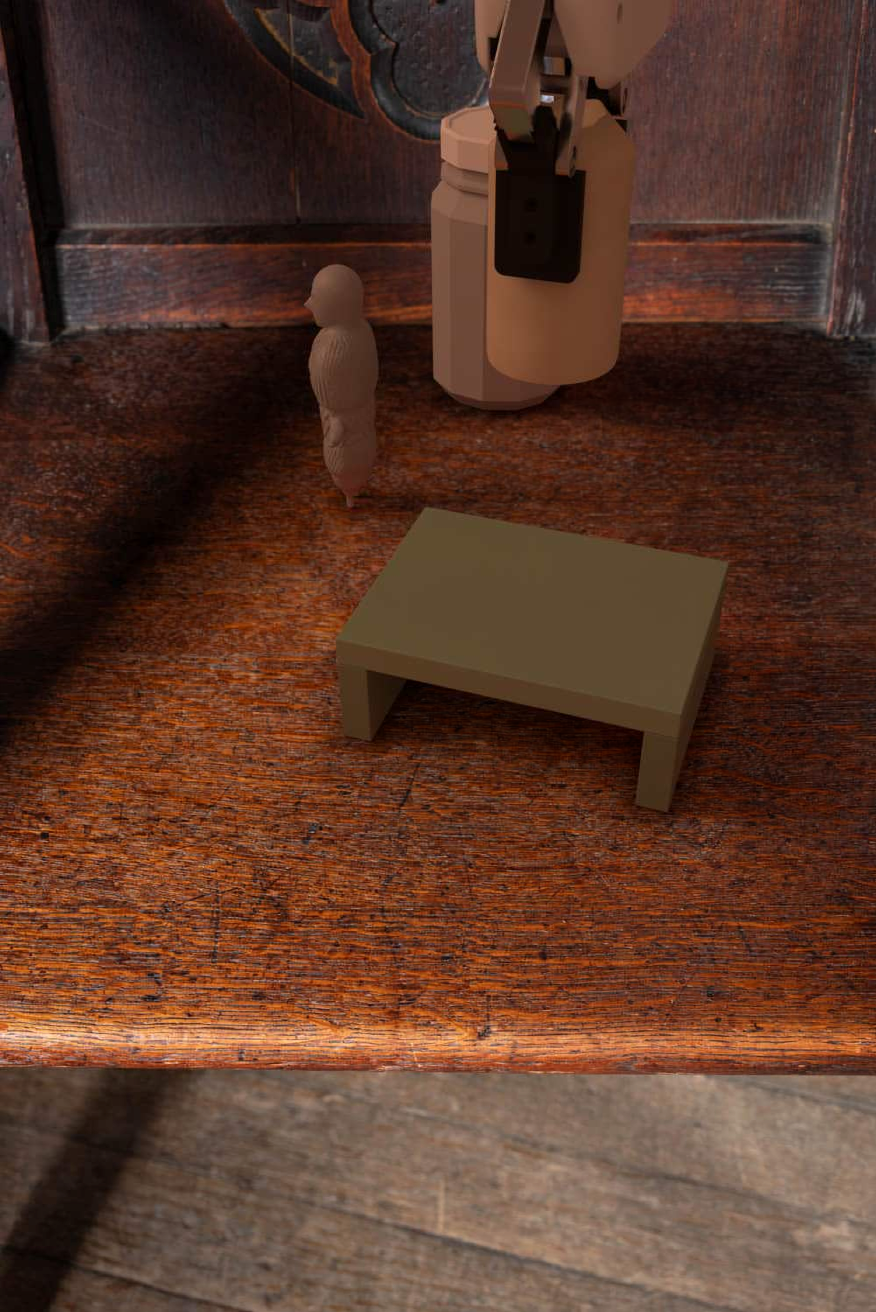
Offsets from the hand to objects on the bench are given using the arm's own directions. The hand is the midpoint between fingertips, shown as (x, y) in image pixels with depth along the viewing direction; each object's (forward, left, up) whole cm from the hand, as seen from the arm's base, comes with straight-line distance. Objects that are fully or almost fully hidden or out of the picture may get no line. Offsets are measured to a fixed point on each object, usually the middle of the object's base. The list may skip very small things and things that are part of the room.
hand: (559, 242), depth 49 cm
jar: (+12, -31, -23) cm, 41 cm away
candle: (0, 0, -5) cm, 5 cm away
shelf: (0, +1, -23) cm, 23 cm away
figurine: (+16, -13, -23) cm, 31 cm away
